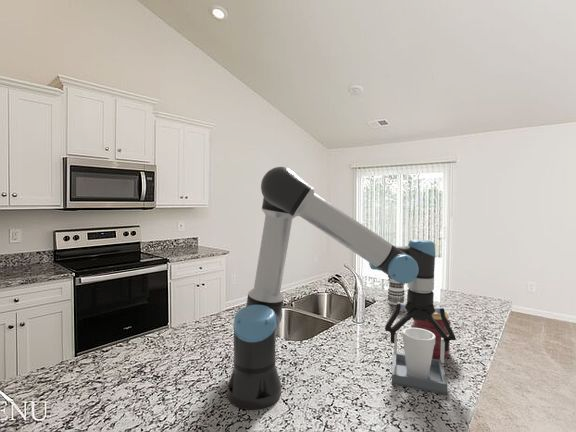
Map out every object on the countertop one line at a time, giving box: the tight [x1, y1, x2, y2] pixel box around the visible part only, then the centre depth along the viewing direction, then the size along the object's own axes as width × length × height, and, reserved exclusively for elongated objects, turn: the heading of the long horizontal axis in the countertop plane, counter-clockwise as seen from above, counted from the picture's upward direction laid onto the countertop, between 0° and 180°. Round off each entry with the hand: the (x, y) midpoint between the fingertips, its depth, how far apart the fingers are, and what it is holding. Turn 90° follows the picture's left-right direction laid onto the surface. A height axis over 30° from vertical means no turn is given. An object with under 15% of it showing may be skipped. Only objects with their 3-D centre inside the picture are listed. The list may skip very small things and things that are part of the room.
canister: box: [411, 303, 452, 360], centre depth 118 cm, size 13×13×18 cm
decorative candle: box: [387, 275, 406, 306], centre depth 174 cm, size 9×9×25 cm
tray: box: [391, 351, 448, 396], centre depth 101 cm, size 15×15×3 cm
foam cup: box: [401, 327, 436, 379], centre depth 101 cm, size 10×9×13 cm
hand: (418, 356), depth 101 cm, fingers open, 13 cm apart
